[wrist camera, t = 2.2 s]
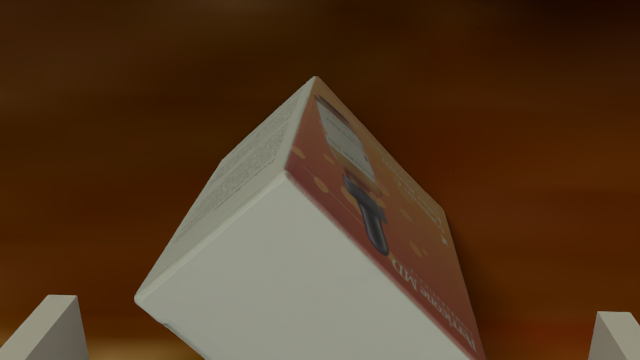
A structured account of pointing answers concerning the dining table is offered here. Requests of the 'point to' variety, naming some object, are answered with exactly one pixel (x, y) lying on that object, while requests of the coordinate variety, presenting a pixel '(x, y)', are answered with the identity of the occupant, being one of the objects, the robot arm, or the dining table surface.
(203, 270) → the small box
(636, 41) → the dining table surface
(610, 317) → the robot arm
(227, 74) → the dining table surface
